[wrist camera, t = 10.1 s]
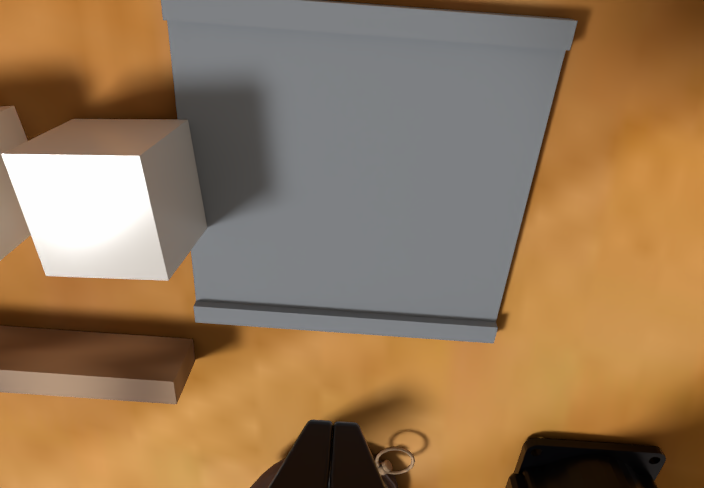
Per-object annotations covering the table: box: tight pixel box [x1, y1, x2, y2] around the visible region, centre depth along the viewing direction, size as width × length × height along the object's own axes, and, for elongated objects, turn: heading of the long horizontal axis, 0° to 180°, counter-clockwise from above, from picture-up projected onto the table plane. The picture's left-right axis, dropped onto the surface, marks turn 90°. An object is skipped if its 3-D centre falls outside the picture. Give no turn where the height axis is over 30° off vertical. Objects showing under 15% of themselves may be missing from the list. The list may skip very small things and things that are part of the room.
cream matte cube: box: [1, 119, 207, 280], centre depth 17 cm, size 4×4×4 cm
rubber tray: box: [161, 0, 578, 343], centre depth 18 cm, size 12×12×1 cm
